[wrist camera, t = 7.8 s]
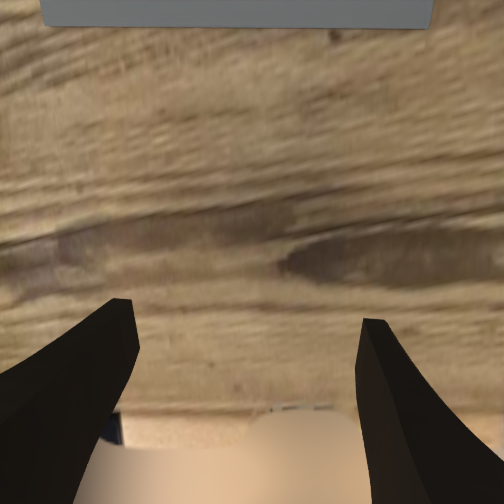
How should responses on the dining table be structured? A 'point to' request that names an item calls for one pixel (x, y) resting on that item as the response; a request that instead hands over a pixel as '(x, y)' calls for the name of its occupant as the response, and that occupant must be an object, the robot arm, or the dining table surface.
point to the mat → (240, 13)
